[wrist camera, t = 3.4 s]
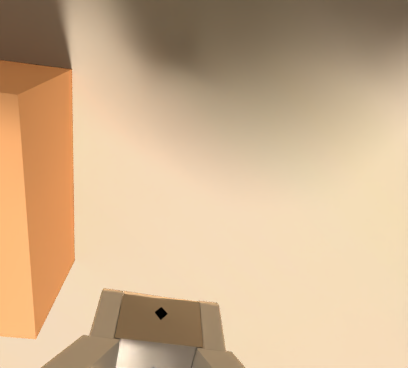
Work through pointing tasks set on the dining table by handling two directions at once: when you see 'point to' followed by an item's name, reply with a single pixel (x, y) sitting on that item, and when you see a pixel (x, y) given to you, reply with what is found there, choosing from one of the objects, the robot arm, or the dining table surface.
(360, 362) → the dining table surface
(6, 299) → the orange block
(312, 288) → the dining table surface
